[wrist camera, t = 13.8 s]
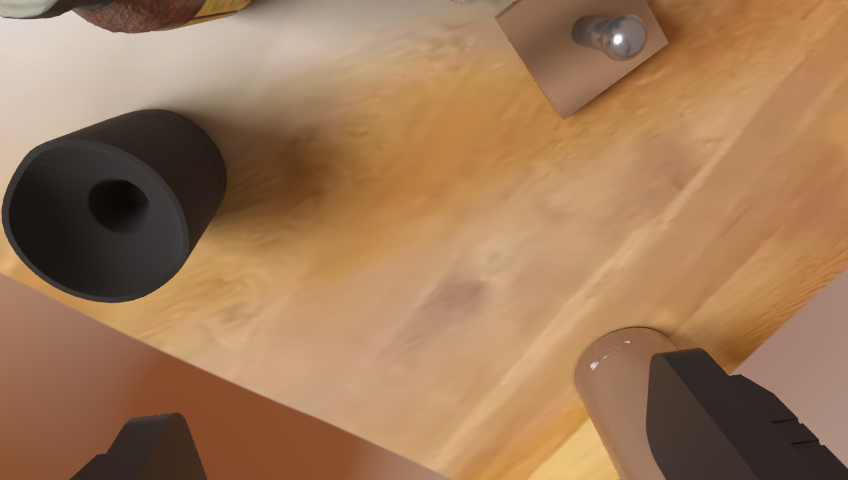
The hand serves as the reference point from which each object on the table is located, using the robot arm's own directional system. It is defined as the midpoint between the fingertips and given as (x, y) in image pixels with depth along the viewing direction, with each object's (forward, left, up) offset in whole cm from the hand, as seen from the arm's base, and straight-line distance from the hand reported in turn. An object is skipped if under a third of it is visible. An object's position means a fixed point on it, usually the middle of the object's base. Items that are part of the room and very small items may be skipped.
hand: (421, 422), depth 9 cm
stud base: (-4, -13, -30) cm, 33 cm away
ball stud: (-4, -13, -29) cm, 32 cm away
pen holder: (+6, +15, -31) cm, 35 cm away
